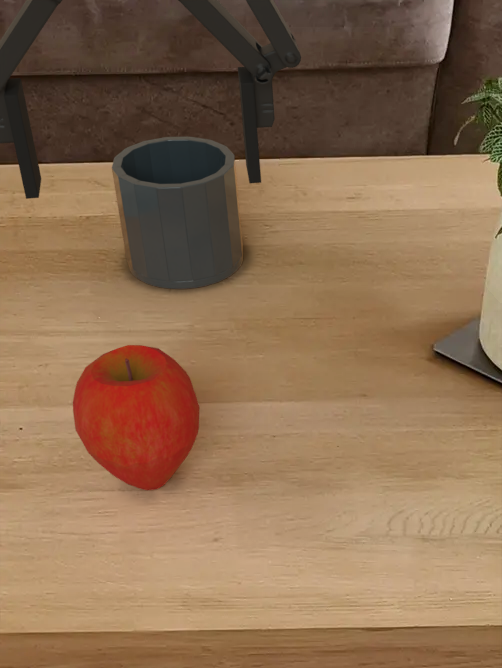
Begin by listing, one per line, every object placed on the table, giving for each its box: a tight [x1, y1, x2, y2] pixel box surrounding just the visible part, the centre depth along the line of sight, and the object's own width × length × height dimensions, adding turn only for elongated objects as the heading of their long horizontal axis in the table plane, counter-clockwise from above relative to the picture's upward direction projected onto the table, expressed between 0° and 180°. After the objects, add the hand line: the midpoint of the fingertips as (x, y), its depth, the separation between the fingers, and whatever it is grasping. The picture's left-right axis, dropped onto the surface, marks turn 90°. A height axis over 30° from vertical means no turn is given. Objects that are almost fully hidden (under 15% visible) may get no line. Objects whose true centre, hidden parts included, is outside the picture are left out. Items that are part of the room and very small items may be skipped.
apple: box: [72, 344, 201, 491], centre depth 81 cm, size 9×8×11 cm
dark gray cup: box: [111, 136, 244, 290], centre depth 107 cm, size 11×11×10 cm
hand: (145, 181), depth 74 cm, fingers open, 13 cm apart
